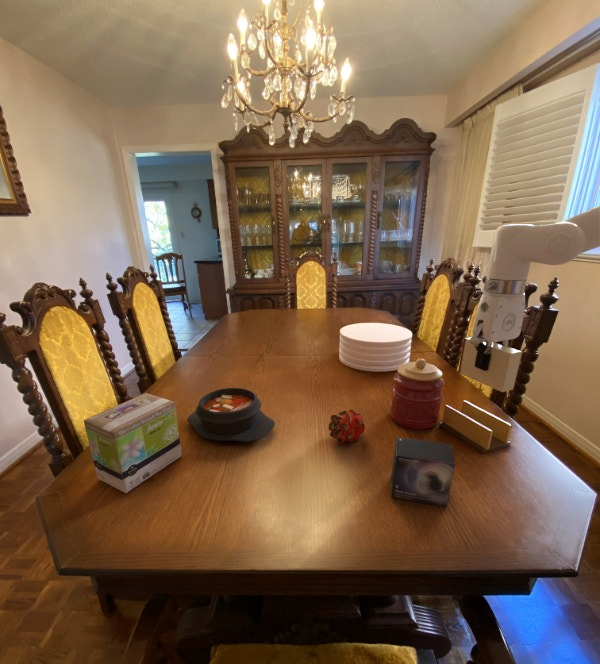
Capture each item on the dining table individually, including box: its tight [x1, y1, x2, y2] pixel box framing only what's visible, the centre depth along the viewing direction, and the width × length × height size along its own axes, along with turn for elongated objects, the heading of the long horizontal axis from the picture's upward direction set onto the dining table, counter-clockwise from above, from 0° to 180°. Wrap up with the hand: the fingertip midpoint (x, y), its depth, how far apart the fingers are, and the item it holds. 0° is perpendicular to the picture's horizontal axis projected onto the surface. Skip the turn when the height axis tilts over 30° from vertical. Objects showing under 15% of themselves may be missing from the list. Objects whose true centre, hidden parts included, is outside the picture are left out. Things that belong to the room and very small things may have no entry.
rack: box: [438, 400, 513, 455], centre depth 87 cm, size 9×14×6 cm, turn 23°
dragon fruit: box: [327, 409, 366, 444], centre depth 87 cm, size 8×8×12 cm
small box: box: [390, 437, 457, 508], centre depth 67 cm, size 11×6×10 cm, turn 76°
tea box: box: [83, 392, 183, 494], centre depth 75 cm, size 15×10×15 cm, turn 151°
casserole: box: [186, 387, 276, 443], centre depth 92 cm, size 25×19×8 cm
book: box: [457, 336, 523, 393], centre depth 80 cm, size 4×12×9 cm, turn 23°
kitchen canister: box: [390, 358, 446, 430], centre depth 93 cm, size 13×13×18 cm
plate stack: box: [338, 322, 413, 373], centre depth 139 cm, size 28×28×12 cm
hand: (487, 366), depth 80 cm, fingers closed on book, 3 cm apart
